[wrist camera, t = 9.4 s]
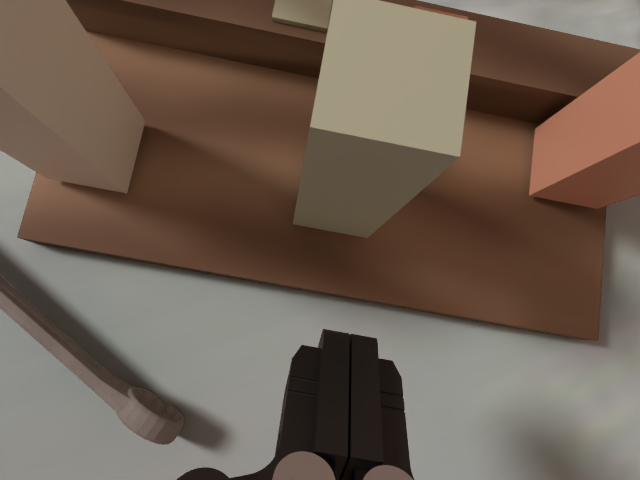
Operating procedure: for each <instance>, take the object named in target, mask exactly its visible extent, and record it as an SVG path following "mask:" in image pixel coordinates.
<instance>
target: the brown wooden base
mask: <svg viewBox="0 0 640 480" xmlns="http://www.w3.org/2000/svg"><path fill="white" fill-rule="evenodd" d="M380 1H384V2H389V3H394V4H398V5H403V6H407V7H412V8H416V9H421V10H425V11H430V12H435V13H439V14H444V15H448V16H453V17H457V18H462V19H467V20H471V21H476V29H475V37H474V46H473V54H472V62H471V71H470V79H469V87H468V95H467V104H466V112H465V120H464V128H463V137H462V145H461V153H460V157H459V158H458V159H457V160H456V161H455V162H454V163H453V164H451V165H450V166H449V167H448V168H447V169H446V170H445V171H443V172H442V173H441V174H440V175H439V176H438V177H437V178H435V179H434V180H433V181H432V182H431V183H430V184H429V185H427V186H426V187H425V188H424V189H423V190H422V191H421V192H419V193H418V194H417V195H416V196H415V197H414V198H413V199H411V200H410V201H409V202H408V203H407V204H406V205H405V206H403V207H402V208H401V209H400V210H399V211H398V212H397V213H395V214H394V215H393V216H392V217H391V218H390V219H389V220H387V221H386V222H385V223H384V224H383V225H382V226H381V227H379V228H378V229H377V230H376V231H375V232H374V233H373V234H371V235H370V236H369V237H368V238H364V237H358V236H353V235H348V234H342V233H337V232H332V231H326V230H321V229H315V228H310V227H305V226H299V225H294V224H293V219H294V213H295V208H296V202H297V197H298V191H299V185H300V180H301V174H302V168H303V163H304V157H305V152H306V146H307V140H308V135H309V129H310V124H311V118H312V113H313V107H314V102H315V97H316V91H317V86H318V80H319V75H320V70H321V64H322V59H323V53H324V48H325V43H326V37H327V32H328V26H329V21H330V16H331V10H332V5H333V0H66V2H67V3H68V5H69V6H70V8H71V9H72V11H73V12H74V14H75V15H76V17H77V18H78V20H79V21H80V23H81V24H82V26H83V27H84V29H85V30H86V32H87V33H88V35H89V36H90V38H91V39H92V41H93V42H94V44H95V45H96V47H97V49H98V50H99V52H100V53H101V55H102V56H103V58H104V59H105V61H106V62H107V64H108V65H109V67H110V68H111V70H112V71H113V73H114V74H115V76H116V77H117V79H118V80H119V82H120V83H121V85H122V86H123V88H124V89H125V91H126V92H127V94H128V95H129V97H130V98H131V100H132V101H133V103H134V104H135V106H136V108H137V109H138V111H139V112H140V114H141V115H142V117H143V118H144V120H145V125H144V129H143V133H142V137H141V141H140V144H139V148H138V152H137V156H136V160H135V164H134V168H133V172H132V176H131V180H130V184H129V188H128V192H127V193H122V192H117V191H111V190H106V189H100V188H95V187H90V186H84V185H79V184H73V183H68V182H63V181H57V180H52V179H47V178H45V177H44V176H42V175H40V174H39V173H37V172H36V175H35V178H34V182H33V185H32V188H31V192H30V195H29V199H28V202H27V206H26V209H25V212H24V216H23V219H22V223H21V226H20V229H19V233H18V236H17V238H21V239H24V240H27V241H30V242H35V243H41V244H46V245H52V246H58V247H63V248H69V249H75V250H80V251H86V252H92V253H97V254H103V255H108V256H114V257H120V258H125V259H131V260H137V261H142V262H148V263H154V264H159V265H165V266H171V267H176V268H182V269H188V270H193V271H199V272H204V273H210V274H216V275H221V276H227V277H233V278H238V279H244V280H250V281H255V282H261V283H267V284H272V285H278V286H283V287H289V288H295V289H300V290H306V291H312V292H317V293H323V294H329V295H334V296H340V297H346V298H351V299H357V300H362V301H368V302H374V303H379V304H385V305H391V306H396V307H402V308H408V309H413V310H419V311H425V312H430V313H436V314H442V315H447V316H453V317H458V318H464V319H470V320H475V321H481V322H487V323H492V324H498V325H504V326H509V327H515V328H521V329H526V330H532V331H537V332H543V333H549V334H554V335H560V336H566V337H571V338H577V339H584V340H598V336H599V319H600V302H601V286H602V269H603V252H604V235H605V219H606V206H604V207H601V208H598V209H595V208H590V207H585V206H580V205H574V204H569V203H564V202H559V201H554V200H549V199H544V198H539V197H534V196H529V190H530V179H531V168H532V157H533V146H534V135H535V128H537V127H538V126H539V125H541V124H542V123H544V122H545V121H546V120H548V119H549V118H550V117H552V116H553V115H554V114H556V113H557V112H559V111H560V110H561V109H563V108H564V107H565V106H567V105H568V104H570V103H571V102H572V101H574V100H575V99H576V98H578V97H579V96H580V95H582V94H583V93H585V92H586V91H587V90H589V89H590V88H591V87H593V86H594V85H596V84H597V83H598V82H600V81H601V80H602V79H604V78H605V77H606V76H608V75H609V74H611V73H612V72H613V71H615V70H616V69H617V68H619V67H620V66H621V65H623V64H624V63H626V62H627V61H628V60H630V59H631V58H632V57H634V56H635V55H637V54H638V53H639V52H640V49H635V48H631V47H626V46H622V45H617V44H613V43H608V42H603V41H599V40H594V39H590V38H585V37H581V36H576V35H572V34H567V33H563V32H558V31H554V30H549V29H544V28H540V27H535V26H531V25H526V24H522V23H517V22H513V21H508V20H504V19H499V18H495V17H490V16H485V15H481V14H476V13H472V12H467V11H463V10H458V9H454V8H449V7H445V6H440V5H436V4H431V3H426V2H422V1H417V0H380Z"/></svg>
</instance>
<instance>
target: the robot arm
mask: <svg viewBox="0 0 640 480" xmlns="http://www.w3.org/2000/svg"><path fill="white" fill-rule="evenodd" d="M177 480H414V478H413V475H412V472H411V468H410V460H409V450H408V439H407V429H406V419H405V413H404V399H403V389H402V379H401V376H400V374H399V372H398V370H397V368H396V367H395V365H394V363H393V361H390V360H385V359H379V358H378V343H377V339H376V338H371V337H365V336H360V335H354V334H350V335H349V334H348V333H342V332H337V331H331V330H326V329H323V331H322V334H321V338H320V342H319V345H318V348H316V347H310V346H305V345H302V346H301V347H300V348H299V350H298V351H297V353H296V354H295V355H294V357H293V358H292V362H291V366H290V371H289V375H288V380H287V384H286V389H285V393H284V400H283V406H282V413H281V420H280V427H279V433H278V439H277V446H276V452H275V457H274V459H273V460H272V461H271V463H270V464H269V465H267V466H266V467H265V468H264V469H262V470H260V471H258V472H256V473H253V474H249V475H245V476H239V477H234V478H228V477H227V476H226V475H225V474H224V473H222V472H221V471H219V470H216V469H213V468H197V469H194V470H191V471H189V472H187V473H185V474H184V475H182V476H181V477H180V478H178V479H177Z"/></svg>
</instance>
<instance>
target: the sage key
mask: <svg viewBox="0 0 640 480" xmlns="http://www.w3.org/2000/svg"><path fill="white" fill-rule="evenodd" d="M475 29H476V21H471V20H467V19H462V18H457V17H453V16H448V15H444V14H439V13H435V12H430V11H425V10H421V9H416V8H412V7H407V6H403V5H398V4H394V3H389V2H384V1H380V0H333V5H332V10H331V16H330V21H329V26H328V32H327V37H326V43H325V48H324V53H323V59H322V64H321V70H320V75H319V80H318V86H317V91H316V97H315V102H314V107H313V113H312V118H311V124H310V129H309V135H308V140H307V146H306V152H305V157H304V163H303V168H302V174H301V180H300V185H299V191H298V197H297V202H296V208H295V213H294V219H293V224H294V225H299V226H305V227H310V228H315V229H321V230H326V231H332V232H337V233H342V234H348V235H353V236H358V237H364V238H368V237H369V236H370V235H371V234H373V233H374V232H375V231H376V230H377V229H378V228H379V227H381V226H382V225H383V224H384V223H385V222H386V221H387V220H389V219H390V218H391V217H392V216H393V215H394V214H395V213H397V212H398V211H399V210H400V209H401V208H402V207H403V206H405V205H406V204H407V203H408V202H409V201H410V200H411V199H413V198H414V197H415V196H416V195H417V194H418V193H419V192H421V191H422V190H423V189H424V188H425V187H426V186H427V185H429V184H430V183H431V182H432V181H433V180H434V179H435V178H437V177H438V176H439V175H440V174H441V173H442V172H443V171H445V170H446V169H447V168H448V167H449V166H450V165H451V164H453V163H454V162H455V161H456V160H457V159H458V158H459V157H460V153H461V145H462V137H463V128H464V120H465V112H466V104H467V95H468V87H469V79H470V71H471V62H472V54H473V46H474V37H475Z"/></svg>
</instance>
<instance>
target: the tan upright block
mask: <svg viewBox="0 0 640 480" xmlns="http://www.w3.org/2000/svg"><path fill="white" fill-rule="evenodd" d="M144 125H145V120H144V118H143V117H142V115H141V114H140V112H139V111H138V109H137V108H136V106H135V104H134V103H133V101H132V100H131V98H130V97H129V95H128V94H127V92H126V91H125V89H124V88H123V86H122V85H121V83H120V82H119V80H118V79H117V77H116V76H115V74H114V73H113V71H112V70H111V68H110V67H109V65H108V64H107V62H106V61H105V59H104V58H103V56H102V55H101V53H100V52H99V50H98V49H97V47H96V45H95V44H94V42H93V41H92V39H91V38H90V36H89V35H88V33H87V32H86V30H85V29H84V27H83V26H82V24H81V23H80V21H79V20H78V18H77V17H76V15H75V14H74V12H73V11H72V9H71V8H70V6H69V5H68V3H67V2H66V0H0V150H1V151H3V152H4V153H6V154H8V155H9V156H11V157H13V158H14V159H16V160H18V161H19V162H21V163H22V164H24V165H26V166H27V167H29V168H31V169H32V170H34V171H36V172H37V173H39V174H40V175H42V176H44V177H45V178H47V179H52V180H57V181H63V182H68V183H73V184H79V185H84V186H90V187H95V188H100V189H106V190H111V191H117V192H122V193H127V192H128V188H129V184H130V180H131V176H132V172H133V168H134V164H135V160H136V156H137V152H138V148H139V144H140V141H141V137H142V133H143V129H144Z"/></svg>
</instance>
